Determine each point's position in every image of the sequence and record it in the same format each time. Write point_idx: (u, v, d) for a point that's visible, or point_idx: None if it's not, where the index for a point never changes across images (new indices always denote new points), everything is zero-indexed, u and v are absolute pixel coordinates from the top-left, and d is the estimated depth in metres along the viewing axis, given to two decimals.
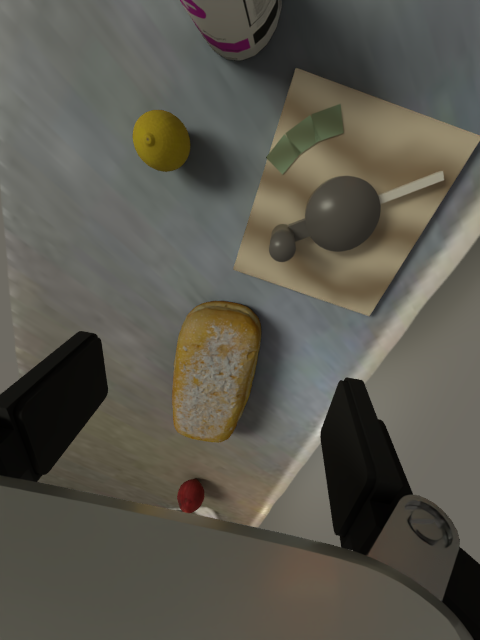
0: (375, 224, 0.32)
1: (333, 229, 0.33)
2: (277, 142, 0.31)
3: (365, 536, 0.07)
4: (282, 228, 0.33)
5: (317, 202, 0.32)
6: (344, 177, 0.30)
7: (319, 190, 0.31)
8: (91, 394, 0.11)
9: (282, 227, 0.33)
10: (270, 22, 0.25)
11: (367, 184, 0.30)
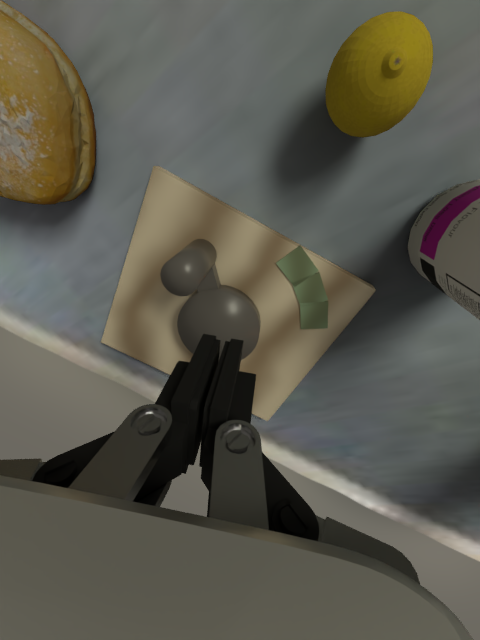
0: None
1: (203, 320, 0.27)
2: (312, 261, 0.25)
3: None
4: (210, 265, 0.23)
5: (236, 306, 0.26)
6: (258, 334, 0.27)
7: (249, 310, 0.26)
8: None
9: (211, 263, 0.24)
10: (430, 279, 0.22)
11: (246, 354, 0.28)
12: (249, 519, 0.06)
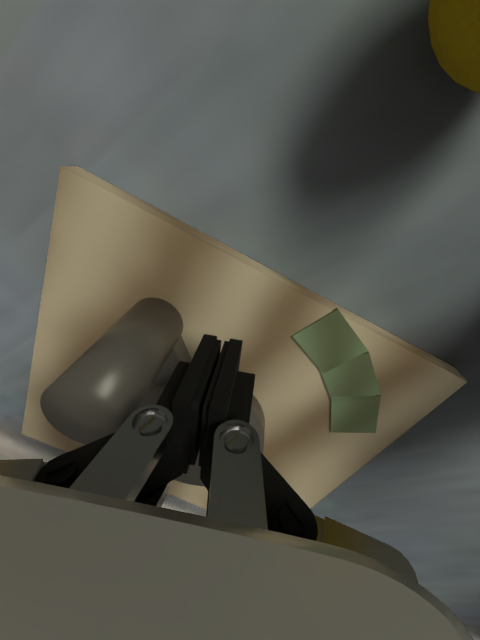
0: (178, 479, 0.18)
1: None
2: (358, 335, 0.14)
3: None
4: (164, 356, 0.12)
5: None
6: (261, 450, 0.16)
7: None
8: None
9: (169, 348, 0.13)
10: None
11: None
12: (248, 519, 0.06)
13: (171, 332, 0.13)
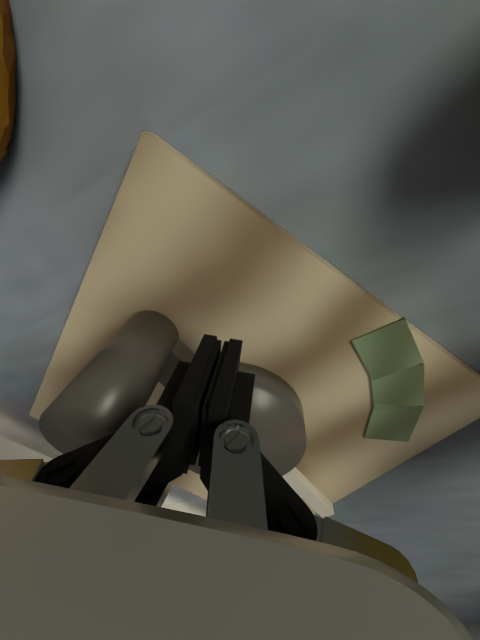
0: None
1: None
2: (417, 346, 0.14)
3: None
4: (157, 359, 0.12)
5: None
6: (301, 427, 0.15)
7: (266, 396, 0.14)
8: None
9: (162, 352, 0.13)
10: None
11: (297, 459, 0.16)
12: (247, 519, 0.06)
13: (161, 336, 0.13)
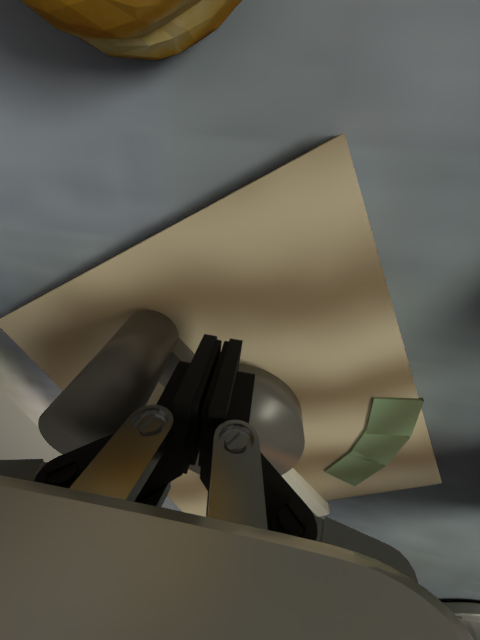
0: None
1: None
2: (415, 422, 0.17)
3: None
4: (157, 360, 0.12)
5: None
6: (300, 429, 0.15)
7: (266, 398, 0.14)
8: None
9: (162, 352, 0.13)
10: None
11: (295, 460, 0.16)
12: (247, 519, 0.06)
13: (161, 337, 0.13)
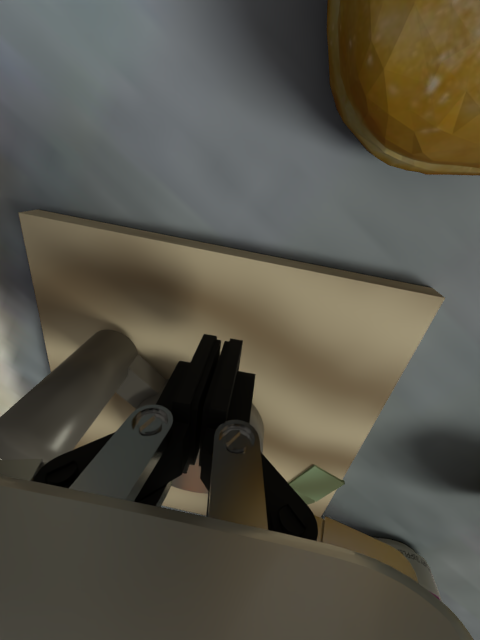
0: (203, 491, 0.18)
1: None
2: (325, 494, 0.20)
3: None
4: (107, 377, 0.13)
5: None
6: None
7: None
8: None
9: (114, 369, 0.14)
10: None
11: None
12: (248, 519, 0.06)
13: (114, 354, 0.14)
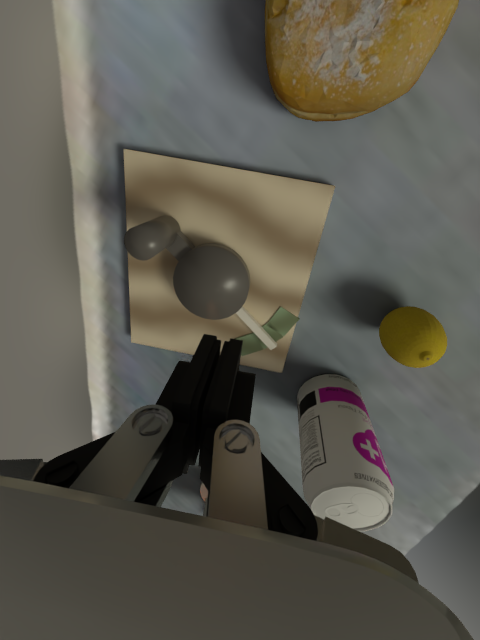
0: (216, 318, 0.31)
1: (195, 283, 0.30)
2: (289, 330, 0.34)
3: None
4: (169, 229, 0.27)
5: (212, 255, 0.28)
6: (244, 271, 0.29)
7: (224, 252, 0.28)
8: None
9: (171, 228, 0.27)
10: (304, 401, 0.35)
11: (245, 295, 0.30)
12: (248, 519, 0.06)
13: (171, 222, 0.27)
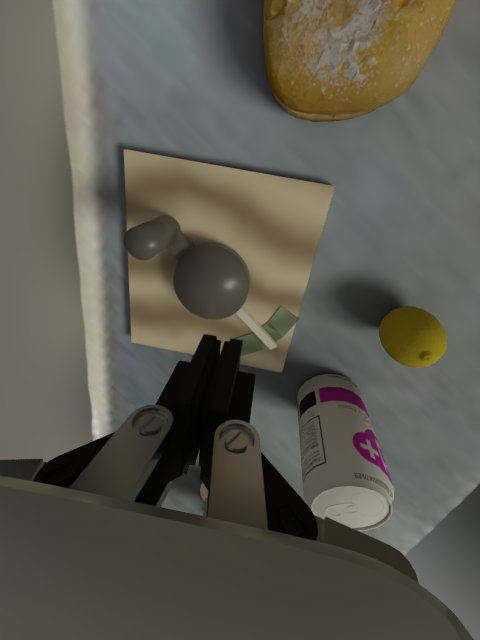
0: (216, 318, 0.31)
1: (195, 282, 0.30)
2: (289, 330, 0.34)
3: None
4: (169, 229, 0.27)
5: (212, 255, 0.28)
6: (244, 271, 0.29)
7: (224, 252, 0.28)
8: None
9: (171, 228, 0.27)
10: (304, 401, 0.35)
11: (245, 295, 0.30)
12: (248, 519, 0.06)
13: (171, 222, 0.27)
